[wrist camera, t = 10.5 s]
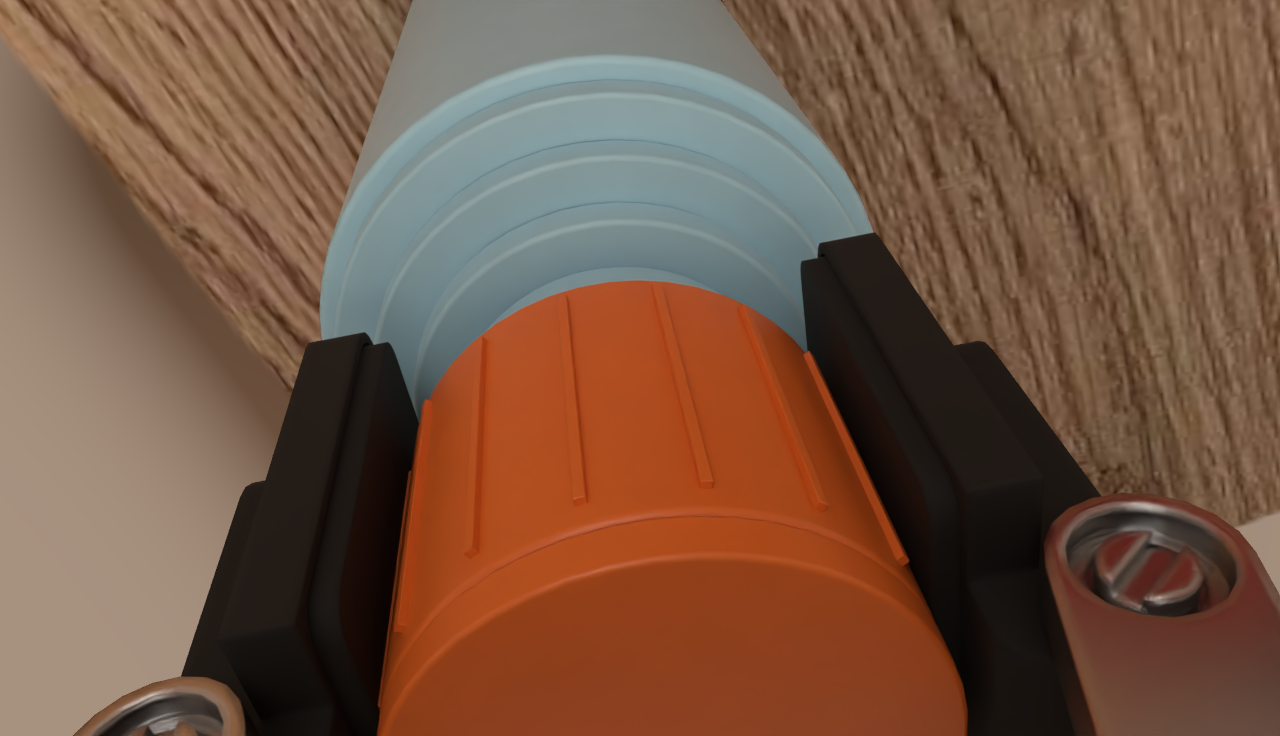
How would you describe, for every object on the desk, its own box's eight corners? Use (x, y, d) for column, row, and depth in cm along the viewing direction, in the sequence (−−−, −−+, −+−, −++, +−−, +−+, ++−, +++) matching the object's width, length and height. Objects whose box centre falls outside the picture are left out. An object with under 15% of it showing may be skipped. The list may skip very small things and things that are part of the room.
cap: (367, 304, 9) (297, 604, 6) (841, 247, 9) (1001, 509, 6) (452, 645, 11) (432, 990, 8) (834, 592, 12) (951, 912, 9)
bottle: (737, 143, 25) (1110, 854, 10) (468, 219, 25) (401, 1029, 10) (672, -157, 22) (1094, 181, 6) (362, -66, 22) (-5, 481, 6)
